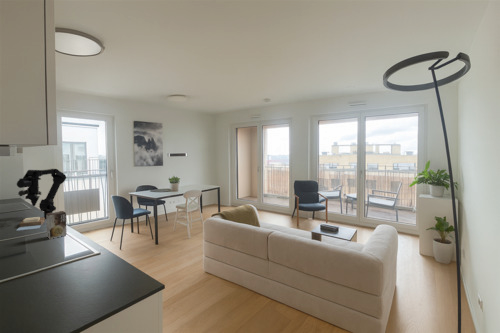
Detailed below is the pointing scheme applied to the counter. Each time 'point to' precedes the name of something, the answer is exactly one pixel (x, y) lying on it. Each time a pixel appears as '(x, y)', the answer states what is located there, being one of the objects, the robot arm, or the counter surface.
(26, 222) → the tile
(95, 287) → the counter surface
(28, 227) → the mat
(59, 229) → the coffee box
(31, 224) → the plate
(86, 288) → the counter surface
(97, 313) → the counter surface
